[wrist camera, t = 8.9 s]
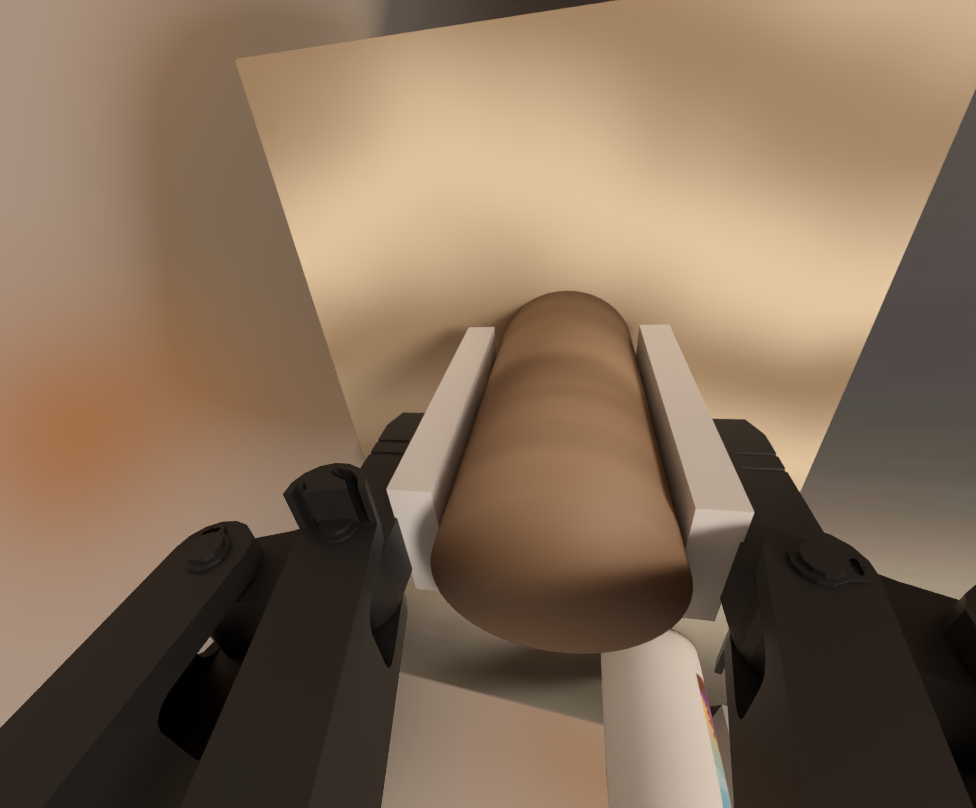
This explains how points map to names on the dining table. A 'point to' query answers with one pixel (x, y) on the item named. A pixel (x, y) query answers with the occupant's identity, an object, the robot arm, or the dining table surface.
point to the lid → (607, 255)
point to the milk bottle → (660, 728)
